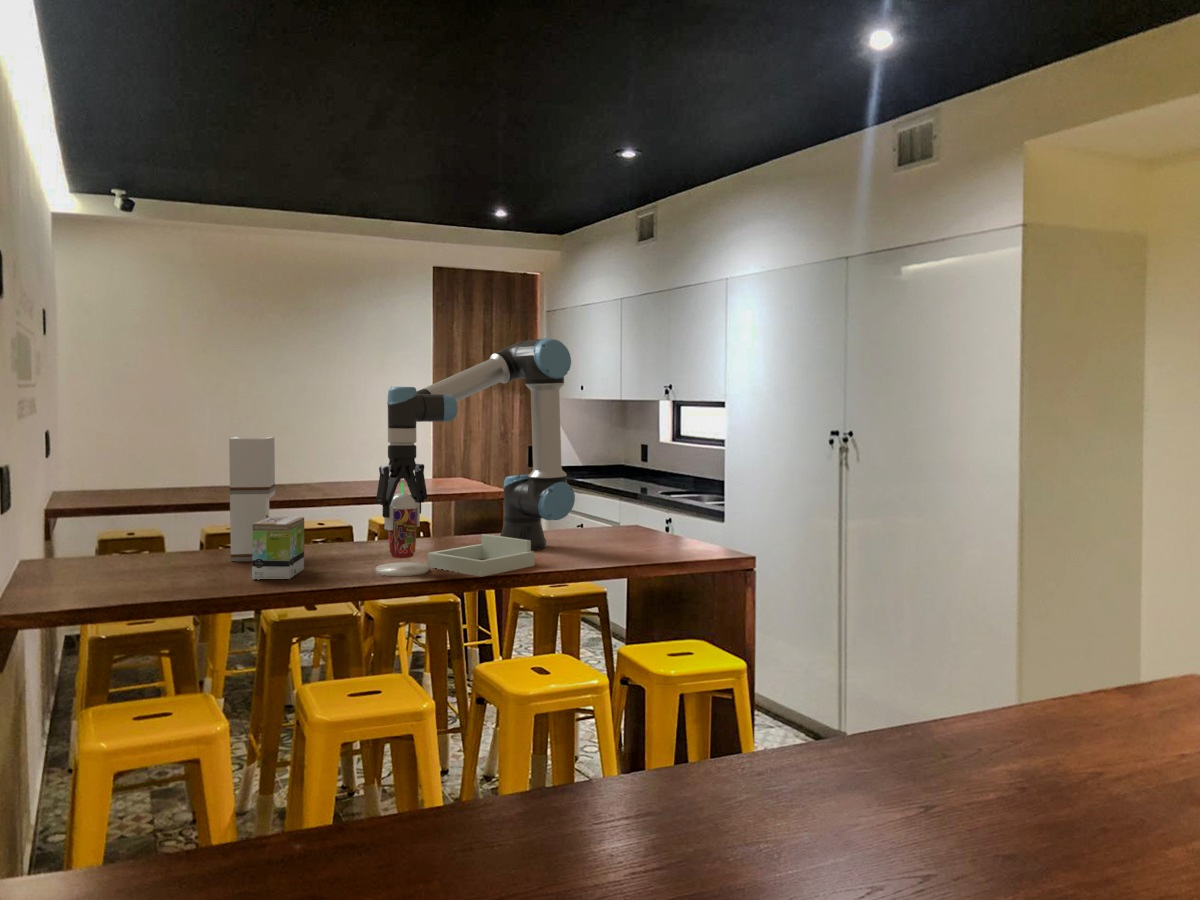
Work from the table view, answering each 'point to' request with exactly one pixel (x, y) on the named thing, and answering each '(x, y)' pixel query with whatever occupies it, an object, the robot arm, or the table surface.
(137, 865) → the table surface
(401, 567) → the saucer
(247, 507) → the striped white pillar
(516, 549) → the shallow open tray
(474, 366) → the robot arm
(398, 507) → the smoothie
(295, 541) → the tea box
